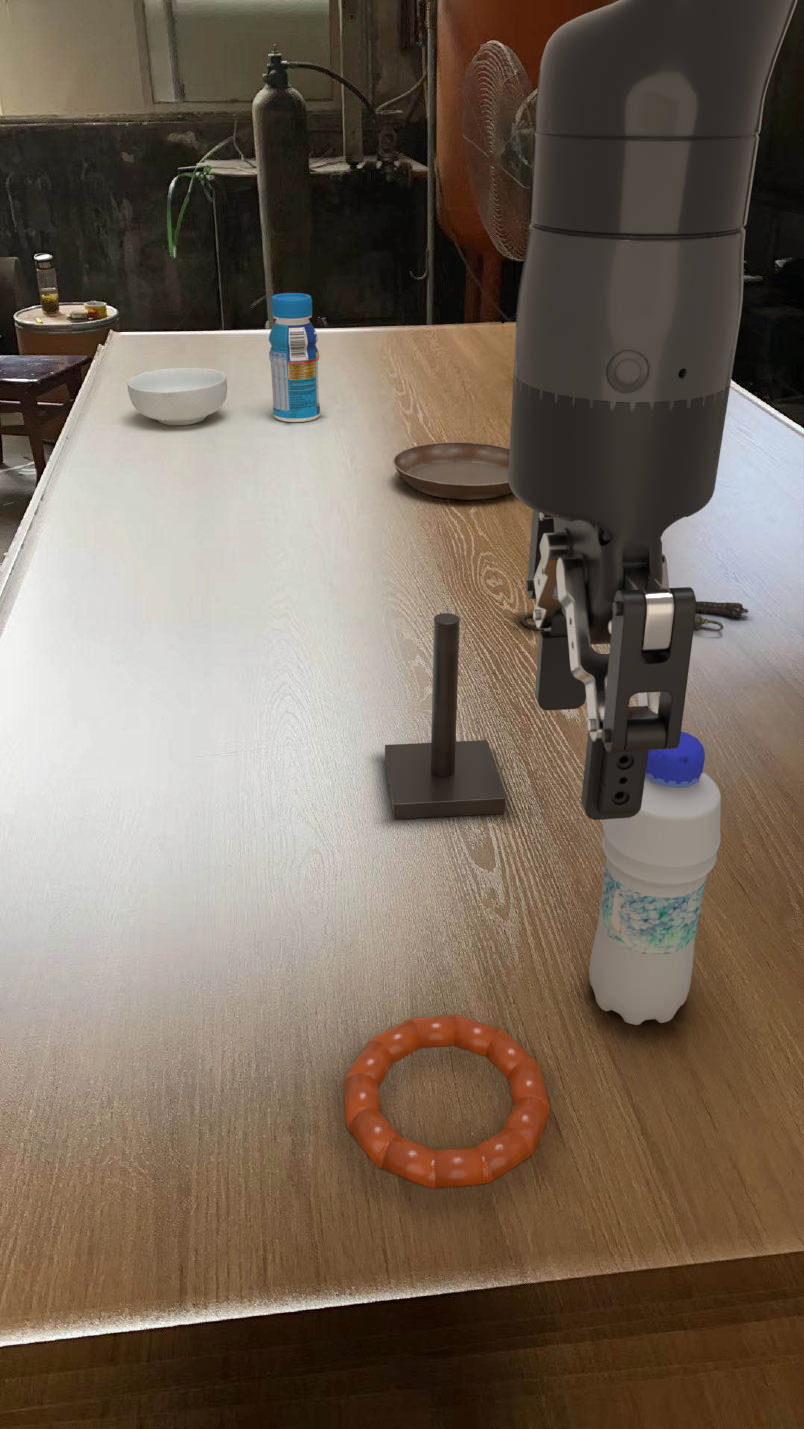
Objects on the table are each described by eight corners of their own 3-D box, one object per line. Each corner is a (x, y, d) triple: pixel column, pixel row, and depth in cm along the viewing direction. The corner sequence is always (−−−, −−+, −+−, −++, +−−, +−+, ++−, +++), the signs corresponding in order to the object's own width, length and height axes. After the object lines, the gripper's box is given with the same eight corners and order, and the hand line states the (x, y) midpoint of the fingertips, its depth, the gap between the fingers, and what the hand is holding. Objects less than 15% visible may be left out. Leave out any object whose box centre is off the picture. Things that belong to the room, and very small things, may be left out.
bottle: (643, 952, 74) (681, 697, 64) (711, 1017, 69) (764, 751, 59) (562, 986, 71) (589, 724, 61) (626, 1056, 66) (668, 783, 56)
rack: (486, 754, 96) (494, 592, 88) (504, 813, 88) (515, 642, 80) (384, 759, 95) (383, 596, 87) (393, 819, 87) (393, 647, 79)
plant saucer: (506, 456, 170) (507, 436, 169) (555, 500, 153) (557, 477, 152) (378, 467, 166) (378, 445, 164) (414, 512, 149) (415, 489, 147)
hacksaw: (747, 613, 121) (749, 601, 120) (748, 654, 112) (751, 641, 112) (531, 590, 126) (532, 578, 125) (517, 628, 118) (518, 615, 117)
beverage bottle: (263, 420, 188) (256, 298, 178) (286, 408, 195) (281, 290, 185) (307, 425, 185) (302, 302, 175) (329, 413, 192) (325, 293, 182)
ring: (525, 1026, 68) (526, 1003, 67) (566, 1188, 58) (569, 1164, 57) (340, 1039, 67) (339, 1015, 66) (350, 1206, 57) (349, 1181, 56)
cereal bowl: (162, 403, 198) (158, 363, 194) (245, 411, 193) (243, 370, 190) (113, 428, 184) (107, 385, 180) (201, 437, 179) (197, 393, 176)
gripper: (811, 417, 32) (728, 852, 41) (662, 323, 45) (621, 672, 53) (564, 425, 32) (530, 866, 40) (481, 327, 44) (468, 680, 52)
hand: (582, 755), depth 46 cm, fingers open, 8 cm apart
